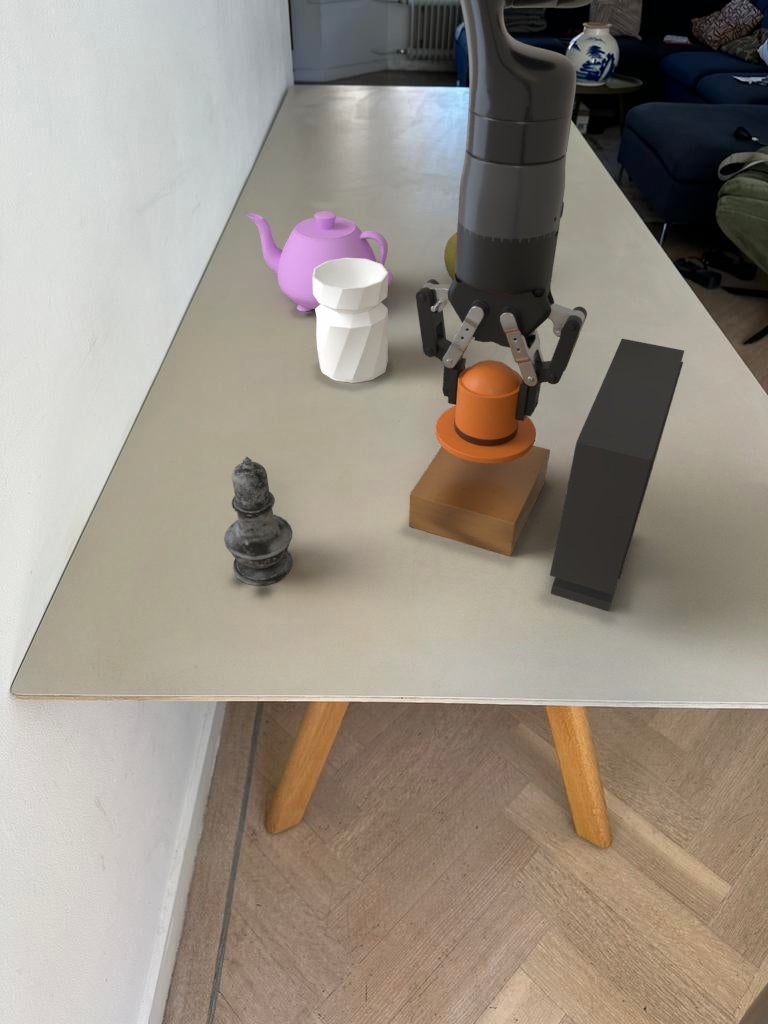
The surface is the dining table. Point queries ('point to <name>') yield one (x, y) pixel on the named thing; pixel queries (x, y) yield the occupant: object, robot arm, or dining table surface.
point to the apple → (451, 255)
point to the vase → (351, 319)
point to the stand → (478, 498)
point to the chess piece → (257, 529)
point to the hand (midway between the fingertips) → (488, 407)
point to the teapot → (315, 252)
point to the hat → (486, 416)
